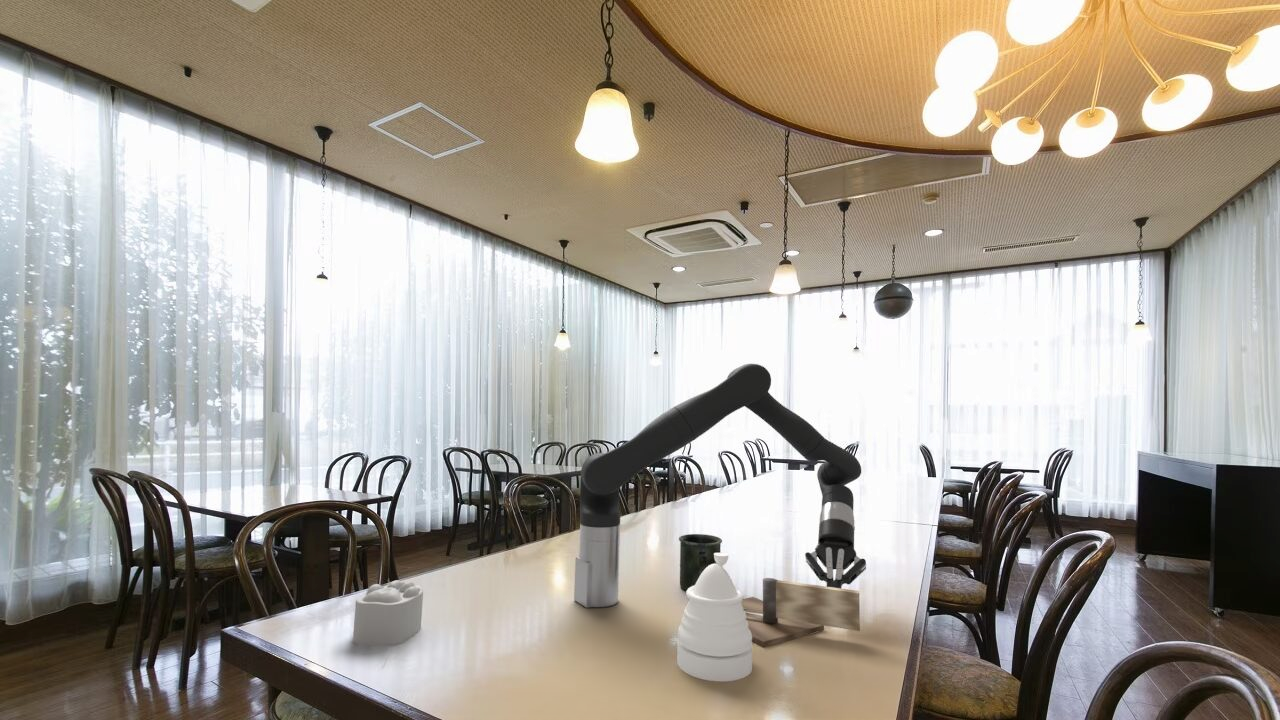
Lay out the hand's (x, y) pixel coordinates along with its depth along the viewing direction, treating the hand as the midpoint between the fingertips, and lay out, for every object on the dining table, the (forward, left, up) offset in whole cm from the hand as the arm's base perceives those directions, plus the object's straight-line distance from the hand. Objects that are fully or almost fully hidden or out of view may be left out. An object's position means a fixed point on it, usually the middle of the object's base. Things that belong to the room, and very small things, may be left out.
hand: (833, 599), depth 113 cm
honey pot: (-32, 0, -6) cm, 32 cm away
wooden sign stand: (-11, +11, -6) cm, 16 cm away
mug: (-8, +33, -6) cm, 35 cm away
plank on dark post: (-9, +5, -5) cm, 11 cm away
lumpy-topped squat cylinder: (-77, +42, -6) cm, 88 cm away
